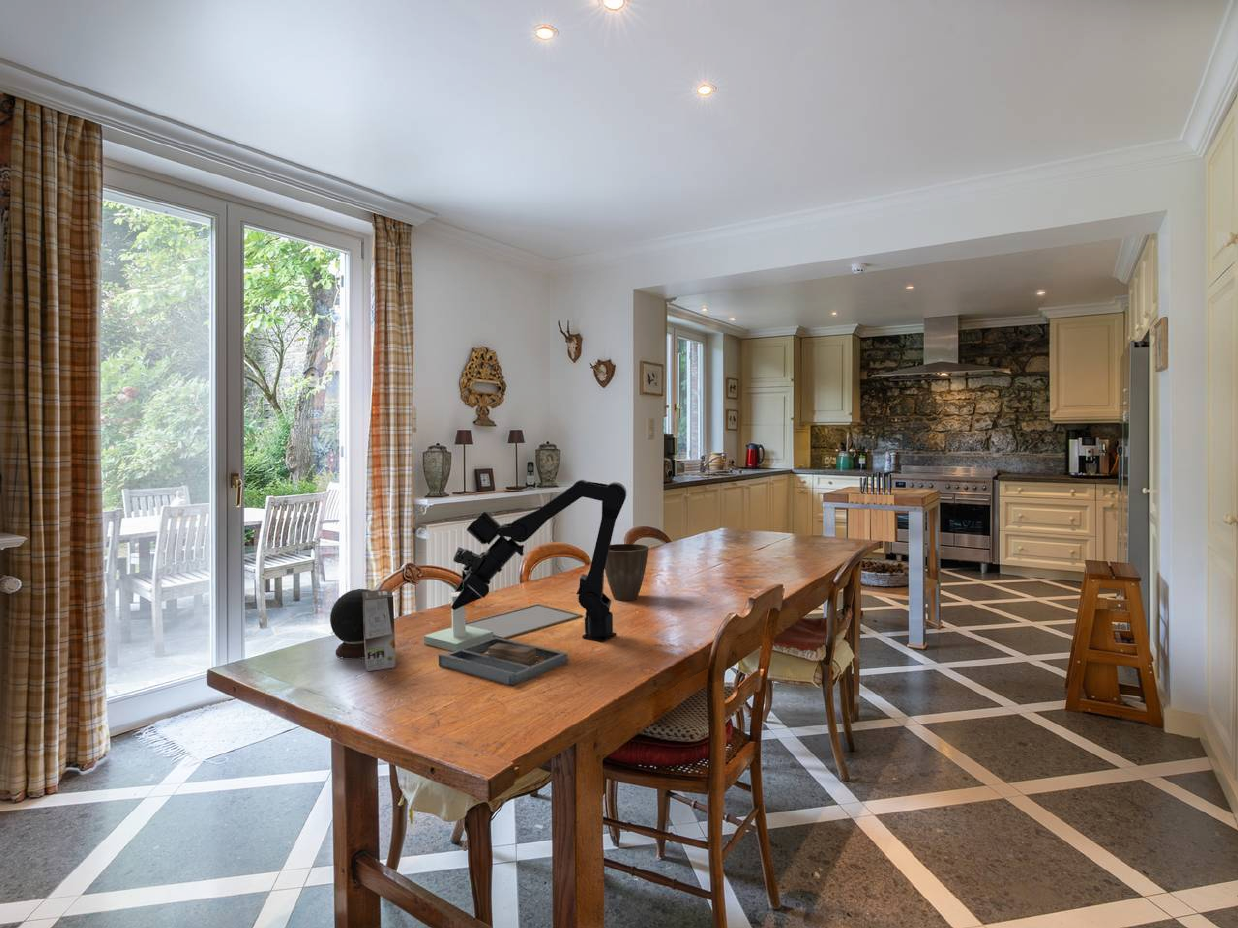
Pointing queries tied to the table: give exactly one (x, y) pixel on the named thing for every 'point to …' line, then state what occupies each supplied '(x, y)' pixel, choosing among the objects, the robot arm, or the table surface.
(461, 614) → the tall white cuboid
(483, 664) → the offcut tray
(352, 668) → the table surface
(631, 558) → the plant pot
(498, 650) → the offcut stack
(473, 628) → the green board
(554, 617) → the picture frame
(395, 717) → the table surface
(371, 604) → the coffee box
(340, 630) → the black sphere with base
